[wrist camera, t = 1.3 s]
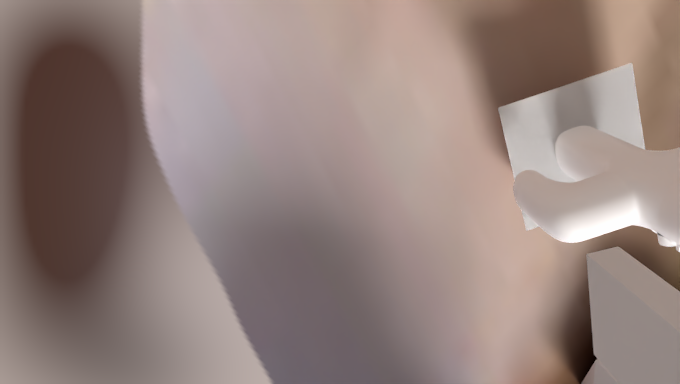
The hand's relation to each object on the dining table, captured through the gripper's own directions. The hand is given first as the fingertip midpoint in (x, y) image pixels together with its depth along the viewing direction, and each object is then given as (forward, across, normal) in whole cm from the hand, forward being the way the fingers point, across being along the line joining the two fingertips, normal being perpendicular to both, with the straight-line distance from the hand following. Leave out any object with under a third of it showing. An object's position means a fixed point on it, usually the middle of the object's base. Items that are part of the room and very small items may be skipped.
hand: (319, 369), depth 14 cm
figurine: (+22, +15, -3) cm, 26 cm away
